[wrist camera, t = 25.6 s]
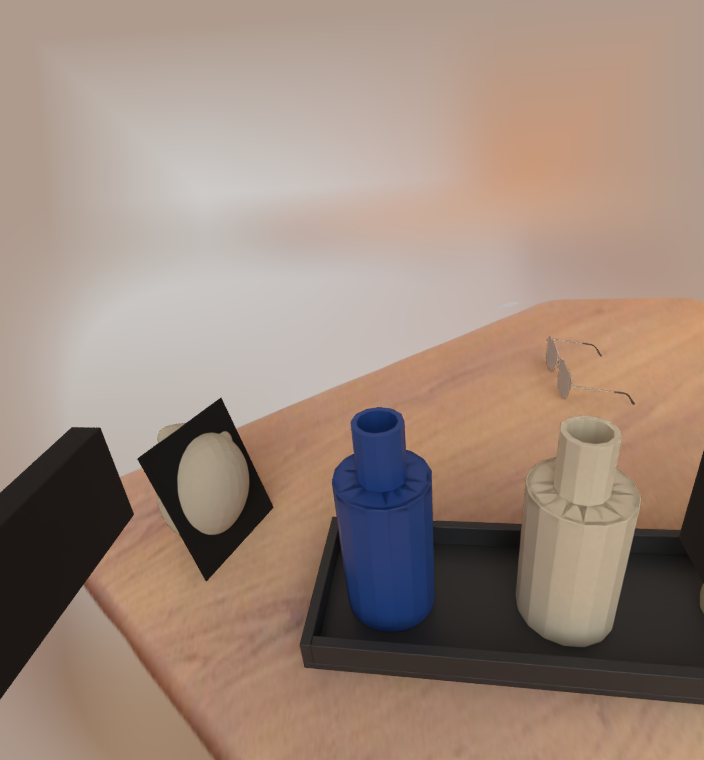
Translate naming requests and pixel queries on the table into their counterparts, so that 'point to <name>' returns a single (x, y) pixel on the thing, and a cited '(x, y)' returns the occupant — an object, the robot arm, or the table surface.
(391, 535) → the blue bottle
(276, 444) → the table surface
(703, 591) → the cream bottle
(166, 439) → the decorative object
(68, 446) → the robot arm
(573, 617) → the cream bottle mid
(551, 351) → the eyeglasses
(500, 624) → the tray
